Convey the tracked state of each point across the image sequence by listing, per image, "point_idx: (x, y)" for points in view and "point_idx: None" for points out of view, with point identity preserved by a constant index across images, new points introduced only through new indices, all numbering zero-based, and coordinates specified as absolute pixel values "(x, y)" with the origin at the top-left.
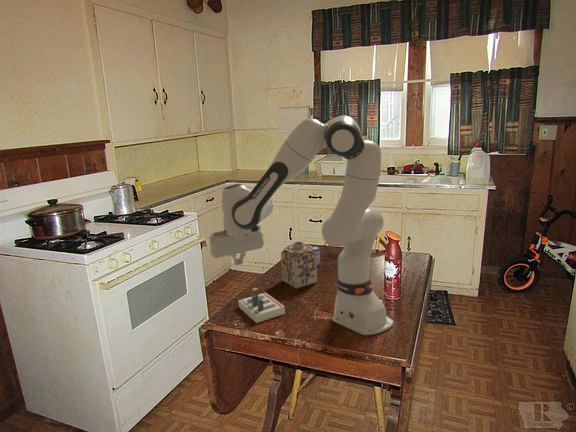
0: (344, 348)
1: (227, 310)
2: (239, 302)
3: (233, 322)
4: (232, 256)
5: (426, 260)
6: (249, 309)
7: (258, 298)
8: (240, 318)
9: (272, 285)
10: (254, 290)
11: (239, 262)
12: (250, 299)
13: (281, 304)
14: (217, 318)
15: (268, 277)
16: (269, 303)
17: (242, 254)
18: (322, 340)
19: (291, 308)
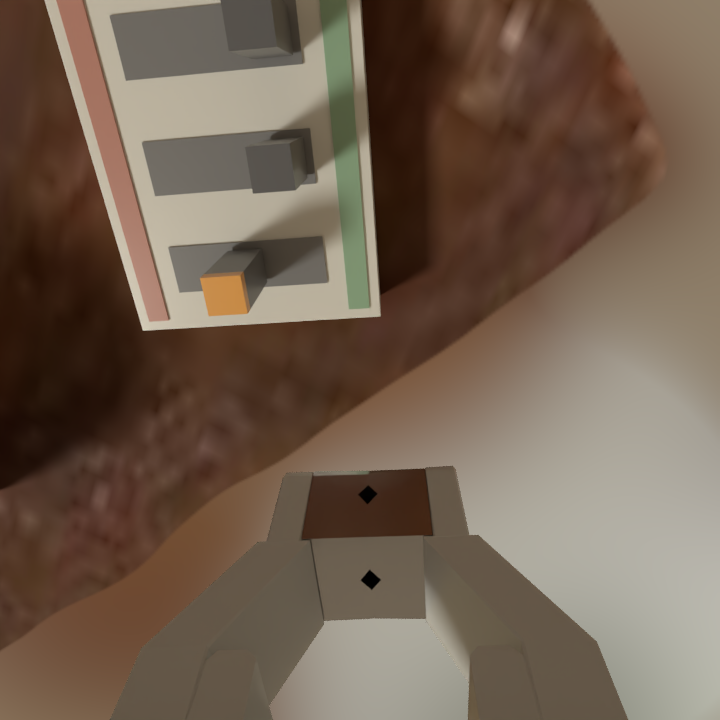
0: None
1: (468, 294)
2: (379, 295)
3: (515, 79)
4: (596, 681)
5: None
6: (362, 98)
7: None
8: (439, 117)
9: (77, 465)
10: (238, 274)
11: (366, 496)
12: (291, 276)
13: (56, 26)
14: (583, 216)
15: (80, 561)
16: (160, 115)
17: (239, 666)
18: None
19: (2, 51)
